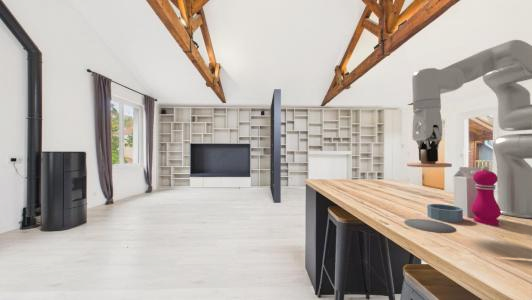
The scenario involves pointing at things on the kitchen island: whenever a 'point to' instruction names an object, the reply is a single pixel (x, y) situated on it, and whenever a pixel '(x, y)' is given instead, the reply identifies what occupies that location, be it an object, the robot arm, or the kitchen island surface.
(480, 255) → the kitchen island surface
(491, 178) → the pepper mill
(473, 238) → the kitchen island surface
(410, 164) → the lid
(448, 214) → the bowl
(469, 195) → the milk carton
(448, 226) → the round mat
